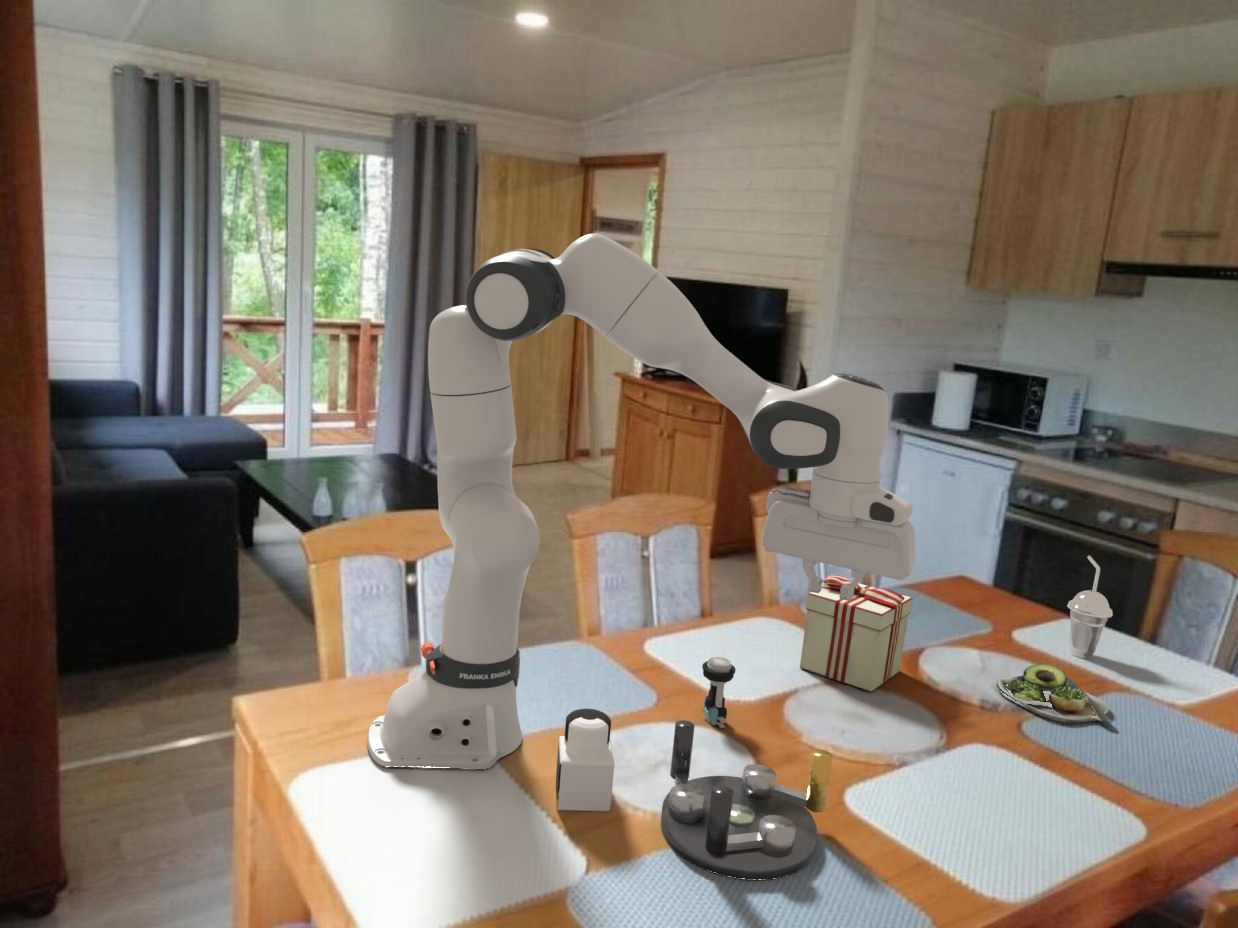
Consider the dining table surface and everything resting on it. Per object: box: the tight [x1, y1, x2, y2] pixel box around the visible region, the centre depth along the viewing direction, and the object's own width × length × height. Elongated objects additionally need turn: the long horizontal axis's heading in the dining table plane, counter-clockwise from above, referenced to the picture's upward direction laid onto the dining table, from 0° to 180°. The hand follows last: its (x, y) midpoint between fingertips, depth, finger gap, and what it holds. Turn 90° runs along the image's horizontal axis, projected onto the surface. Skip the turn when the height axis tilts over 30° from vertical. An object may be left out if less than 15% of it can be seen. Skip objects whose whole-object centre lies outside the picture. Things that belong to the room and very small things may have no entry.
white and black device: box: [555, 708, 615, 813], centre depth 125 cm, size 7×7×12 cm
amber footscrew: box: [741, 748, 833, 813], centre depth 124 cm, size 12×4×8 cm, turn 62°
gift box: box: [799, 574, 913, 692], centre depth 175 cm, size 17×18×17 cm
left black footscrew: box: [668, 719, 704, 823], centre depth 123 cm, size 12×4×8 cm, turn 2°
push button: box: [701, 656, 736, 729], centre depth 150 cm, size 7×5×10 cm
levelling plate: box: [660, 775, 818, 881], centre depth 121 cm, size 20×20×3 cm
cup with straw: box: [1066, 555, 1114, 660], centre depth 192 cm, size 8×9×20 cm
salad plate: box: [996, 663, 1112, 724], centre depth 168 cm, size 19×18×5 cm
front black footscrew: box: [705, 785, 796, 857], centre depth 113 cm, size 12×4×8 cm, turn 107°
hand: (830, 595), depth 127 cm, fingers open, 3 cm apart
